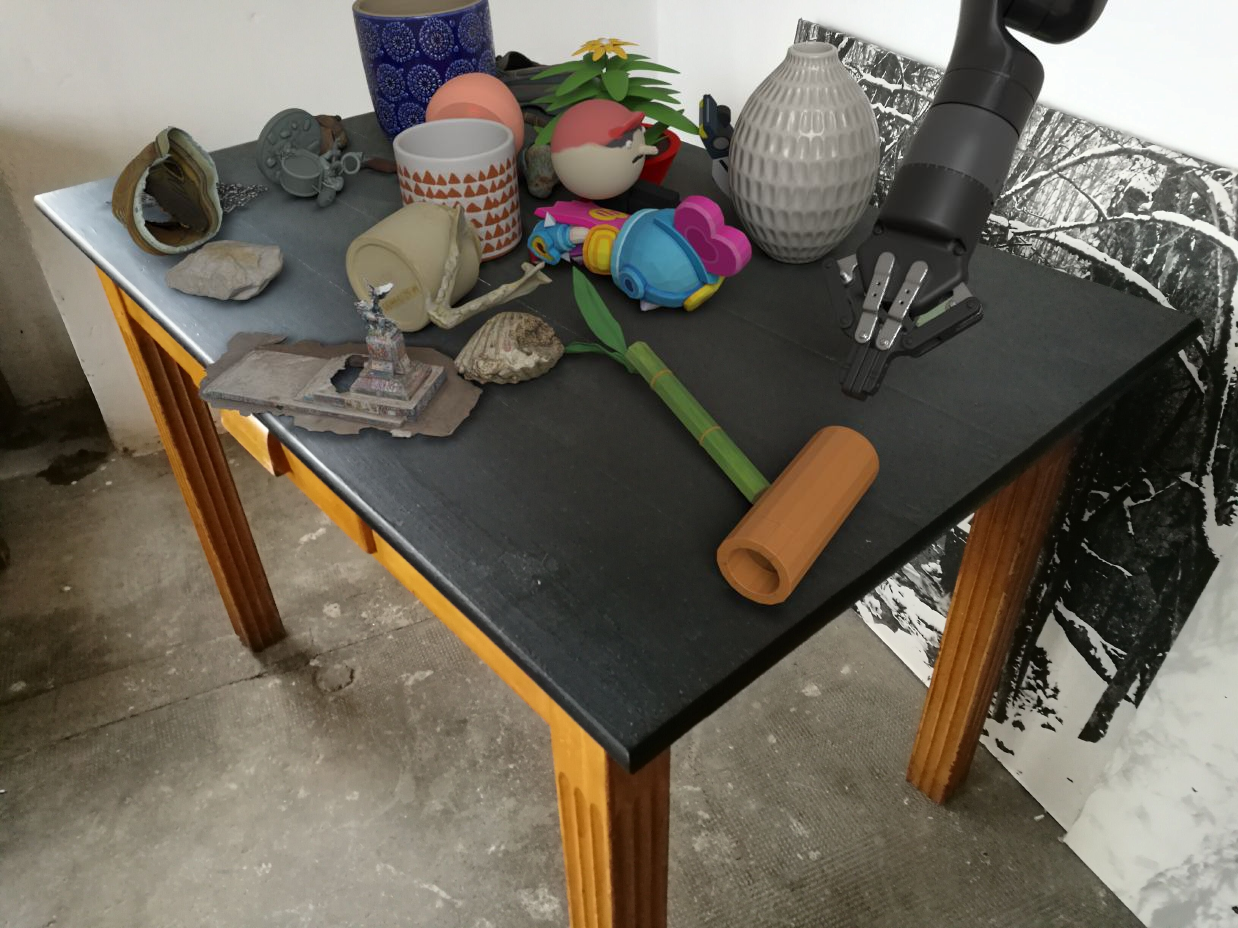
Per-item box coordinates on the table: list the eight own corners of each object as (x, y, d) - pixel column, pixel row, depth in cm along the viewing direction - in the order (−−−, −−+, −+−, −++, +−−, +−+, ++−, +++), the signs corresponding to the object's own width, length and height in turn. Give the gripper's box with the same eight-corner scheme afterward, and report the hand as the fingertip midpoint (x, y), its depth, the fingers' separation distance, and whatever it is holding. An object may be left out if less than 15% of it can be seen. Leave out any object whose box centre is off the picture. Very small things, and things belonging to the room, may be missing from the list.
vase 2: (532, 219, 116) (524, 118, 108) (508, 269, 106) (498, 161, 98) (428, 215, 118) (413, 115, 110) (395, 263, 107) (375, 156, 99)
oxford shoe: (231, 167, 125) (175, 218, 128) (167, 109, 119) (108, 164, 121) (216, 263, 105) (149, 322, 107) (137, 200, 98) (67, 264, 101)
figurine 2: (273, 112, 139) (321, 97, 144) (281, 141, 142) (328, 126, 147) (326, 131, 132) (375, 115, 137) (333, 161, 134) (381, 145, 139)
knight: (543, 310, 109) (741, 355, 89) (485, 219, 100) (692, 246, 80) (603, 243, 113) (805, 272, 93) (553, 150, 104) (765, 159, 84)
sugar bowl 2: (400, 123, 111) (420, 73, 116) (473, 204, 120) (488, 154, 126) (476, 81, 105) (493, 30, 110) (547, 170, 114) (560, 118, 120)
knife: (503, 213, 119) (524, 194, 122) (502, 205, 118) (523, 186, 121) (345, 177, 130) (367, 161, 133) (342, 170, 129) (365, 153, 132)
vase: (827, 212, 114) (848, 19, 99) (892, 269, 101) (927, 59, 87) (705, 232, 110) (709, 37, 96) (757, 294, 98) (770, 81, 84)
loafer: (481, 83, 160) (473, 26, 154) (626, 105, 148) (623, 45, 142) (443, 102, 153) (433, 44, 147) (591, 127, 141) (587, 65, 135)
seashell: (486, 330, 79) (419, 360, 86) (526, 400, 81) (458, 423, 88) (557, 281, 87) (491, 312, 94) (592, 346, 89) (525, 371, 96)
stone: (232, 254, 111) (165, 296, 106) (213, 214, 108) (143, 255, 102) (309, 277, 105) (243, 323, 99) (293, 235, 102) (223, 281, 96)
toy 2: (701, 276, 104) (595, 234, 110) (717, 257, 106) (612, 216, 111) (700, 220, 97) (587, 178, 103) (717, 200, 99) (605, 160, 105)
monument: (156, 401, 87) (109, 281, 79) (252, 323, 98) (220, 212, 90) (442, 457, 80) (421, 332, 72) (510, 366, 91) (499, 249, 83)
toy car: (716, 121, 101) (677, 139, 104) (778, 207, 113) (742, 222, 116) (716, 89, 104) (678, 107, 106) (777, 177, 115) (742, 191, 118)
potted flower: (603, 156, 131) (595, 2, 118) (749, 196, 118) (757, 28, 105) (481, 215, 117) (457, 48, 104) (631, 268, 104) (624, 84, 91)
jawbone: (547, 297, 94) (567, 238, 88) (491, 376, 86) (510, 316, 80) (442, 243, 94) (456, 180, 88) (376, 316, 85) (385, 252, 79)
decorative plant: (723, 504, 69) (538, 282, 85) (721, 558, 76) (550, 343, 92) (788, 467, 71) (594, 256, 87) (780, 524, 77) (602, 318, 93)
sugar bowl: (303, 219, 92) (396, 163, 102) (330, 313, 99) (415, 252, 109) (420, 247, 87) (507, 185, 96) (440, 344, 94) (519, 277, 104)
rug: (268, 184, 126) (270, 191, 127) (153, 173, 132) (156, 179, 132) (223, 212, 119) (225, 218, 120) (104, 199, 124) (106, 205, 125)
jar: (831, 412, 71) (735, 523, 61) (893, 457, 70) (804, 577, 60) (799, 455, 75) (705, 566, 66) (857, 499, 74) (769, 617, 65)
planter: (514, 164, 130) (496, 7, 117) (384, 181, 127) (350, 22, 114) (497, 122, 144) (479, -22, 131) (380, 136, 141) (350, -10, 128)
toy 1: (649, 214, 94) (635, 116, 88) (546, 213, 98) (526, 120, 92) (679, 177, 101) (668, 84, 95) (582, 177, 106) (566, 89, 99)
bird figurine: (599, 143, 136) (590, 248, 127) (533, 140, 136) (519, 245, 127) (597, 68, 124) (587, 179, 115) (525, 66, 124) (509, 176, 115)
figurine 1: (317, 168, 132) (376, 208, 129) (255, 190, 125) (317, 233, 122) (317, 99, 125) (380, 140, 122) (252, 119, 118) (317, 163, 115)
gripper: (853, 143, 68) (760, 356, 69) (1033, 180, 62) (928, 415, 62) (875, 187, 75) (789, 381, 75) (1039, 225, 68) (945, 437, 69)
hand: (853, 396), depth 69 cm, fingers closed
